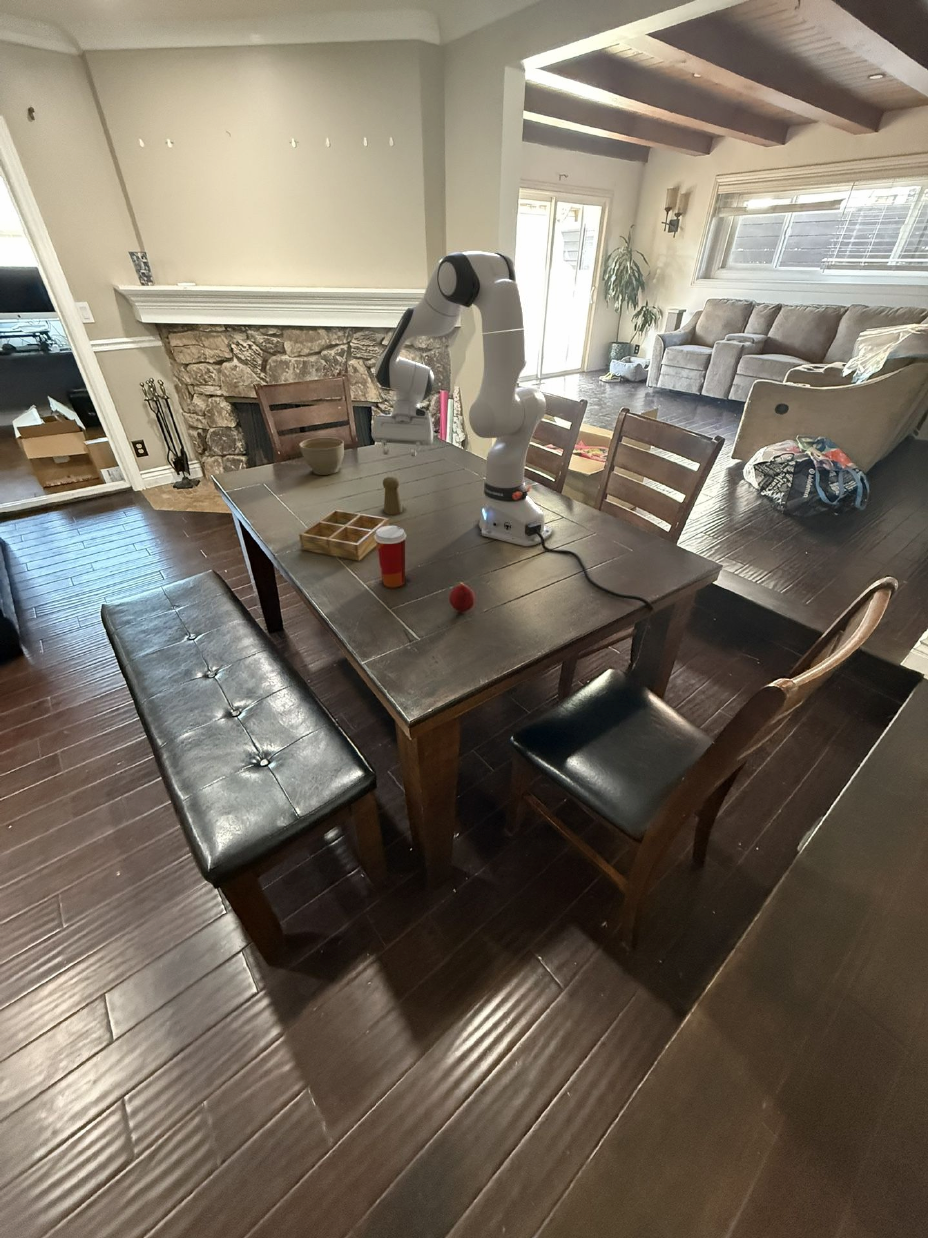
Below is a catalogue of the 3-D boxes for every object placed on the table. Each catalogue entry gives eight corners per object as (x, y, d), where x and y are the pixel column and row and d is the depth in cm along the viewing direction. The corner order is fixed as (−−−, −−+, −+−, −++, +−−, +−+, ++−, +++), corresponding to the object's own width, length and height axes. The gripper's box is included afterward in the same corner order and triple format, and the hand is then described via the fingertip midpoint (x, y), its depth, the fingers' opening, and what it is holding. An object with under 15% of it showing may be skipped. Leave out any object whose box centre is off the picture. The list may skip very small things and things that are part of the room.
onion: (473, 605, 122) (474, 576, 117) (475, 618, 117) (475, 589, 113) (449, 605, 122) (449, 576, 117) (449, 619, 117) (449, 589, 112)
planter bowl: (355, 469, 199) (352, 440, 193) (326, 481, 188) (321, 451, 182) (325, 461, 206) (321, 434, 200) (295, 473, 195) (290, 444, 189)
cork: (401, 514, 165) (399, 481, 158) (382, 514, 165) (379, 481, 158) (403, 507, 170) (401, 474, 163) (385, 506, 170) (382, 474, 163)
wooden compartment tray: (389, 533, 153) (388, 518, 151) (359, 560, 139) (357, 544, 137) (336, 523, 159) (334, 509, 156) (301, 549, 144) (298, 534, 142)
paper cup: (394, 571, 135) (390, 521, 127) (415, 580, 131) (412, 530, 123) (372, 582, 130) (366, 532, 122) (393, 593, 126) (389, 541, 118)
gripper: (372, 408, 167) (365, 447, 165) (433, 412, 165) (427, 451, 162) (378, 419, 174) (371, 457, 171) (436, 422, 171) (430, 461, 169)
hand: (399, 454), depth 167 cm, fingers open, 8 cm apart
